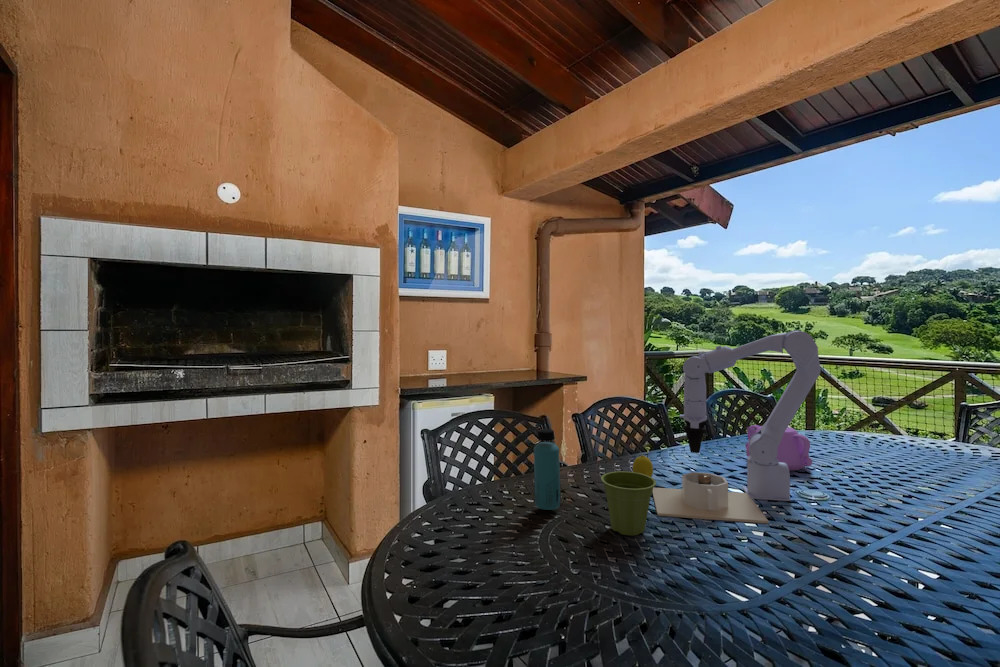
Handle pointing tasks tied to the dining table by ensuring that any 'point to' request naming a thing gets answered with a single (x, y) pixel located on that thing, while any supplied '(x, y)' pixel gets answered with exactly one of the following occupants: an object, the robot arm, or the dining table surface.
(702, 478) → the lid
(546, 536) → the dining table surface
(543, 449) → the beverage bottle
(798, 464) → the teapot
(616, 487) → the plant pot
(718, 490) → the press stand
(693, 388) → the robot arm
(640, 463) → the lemon
